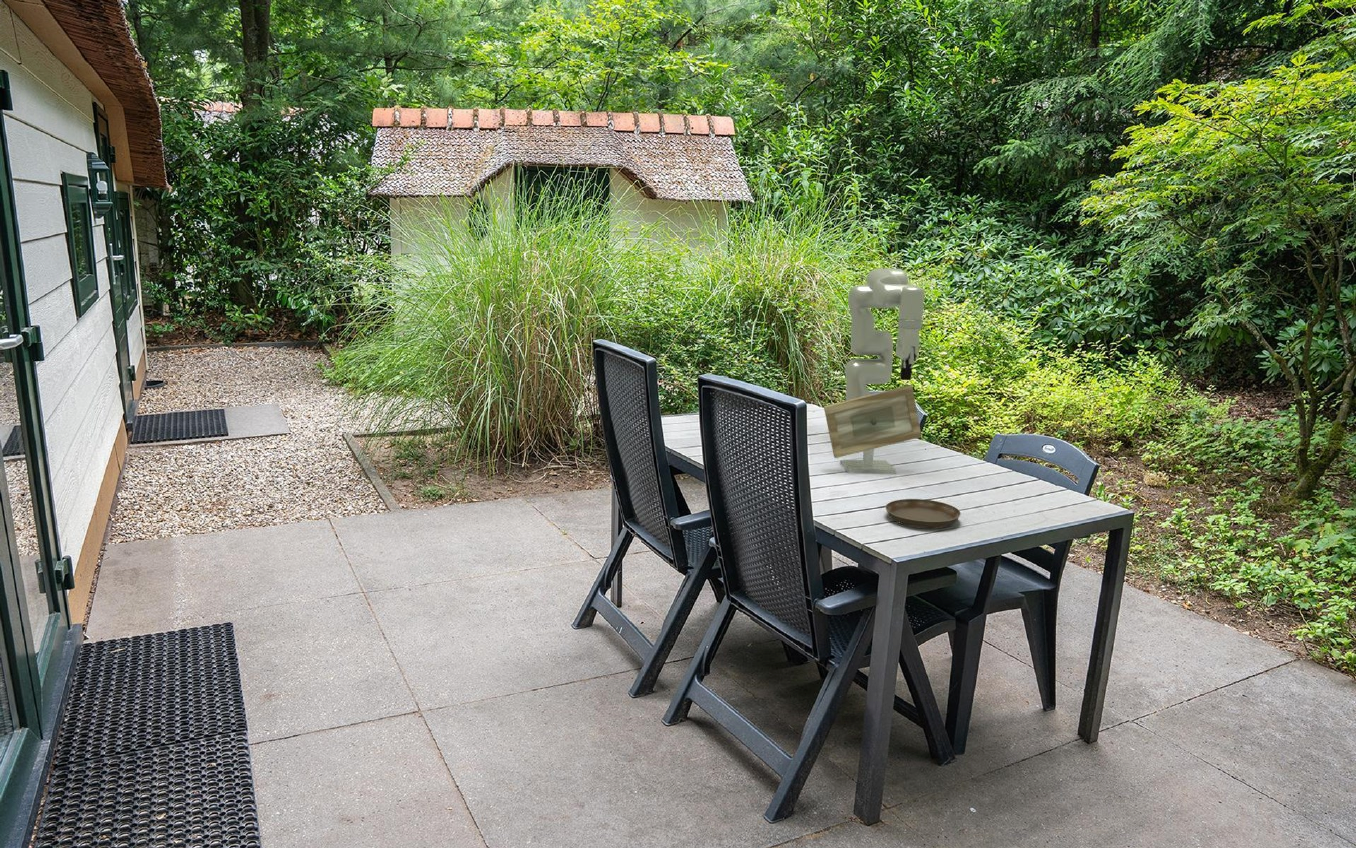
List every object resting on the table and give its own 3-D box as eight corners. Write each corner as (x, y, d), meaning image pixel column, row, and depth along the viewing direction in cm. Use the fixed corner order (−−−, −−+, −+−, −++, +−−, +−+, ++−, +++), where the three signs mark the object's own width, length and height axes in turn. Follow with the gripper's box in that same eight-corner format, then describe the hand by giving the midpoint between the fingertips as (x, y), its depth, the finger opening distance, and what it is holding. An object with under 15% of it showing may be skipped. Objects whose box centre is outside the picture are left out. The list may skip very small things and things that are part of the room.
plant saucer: (914, 535, 252) (915, 523, 251) (870, 513, 270) (871, 502, 270) (975, 527, 260) (976, 516, 260) (927, 506, 279) (928, 495, 278)
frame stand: (840, 464, 325) (843, 413, 321) (885, 464, 326) (889, 414, 322) (848, 473, 313) (852, 420, 309) (895, 473, 314) (899, 421, 310)
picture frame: (834, 456, 316) (823, 406, 312) (919, 435, 316) (910, 384, 312) (835, 458, 314) (825, 407, 310) (922, 437, 314) (912, 386, 310)
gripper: (892, 321, 314) (888, 375, 318) (905, 326, 300) (901, 383, 303) (914, 322, 315) (909, 376, 318) (928, 327, 300) (923, 383, 304)
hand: (905, 379), depth 311 cm, fingers closed
